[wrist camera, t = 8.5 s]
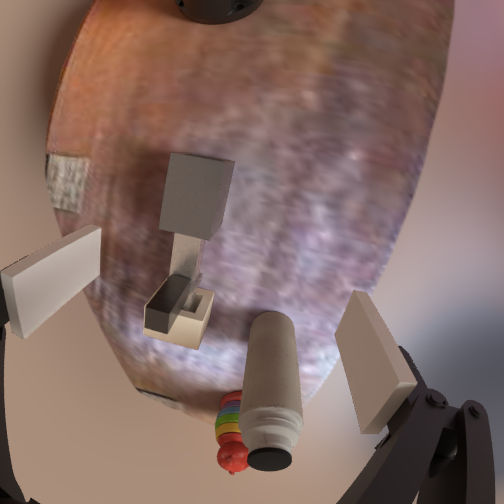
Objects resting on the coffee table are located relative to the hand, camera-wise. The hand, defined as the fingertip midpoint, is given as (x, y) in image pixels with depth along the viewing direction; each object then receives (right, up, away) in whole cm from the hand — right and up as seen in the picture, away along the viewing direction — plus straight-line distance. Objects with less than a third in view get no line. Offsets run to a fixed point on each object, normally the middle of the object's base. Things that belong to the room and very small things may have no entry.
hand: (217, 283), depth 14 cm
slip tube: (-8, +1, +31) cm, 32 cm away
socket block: (-10, -7, +37) cm, 39 cm away
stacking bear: (-1, -33, +45) cm, 56 cm away
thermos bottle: (+5, -12, +38) cm, 40 cm away
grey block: (-5, +11, +31) cm, 33 cm away
